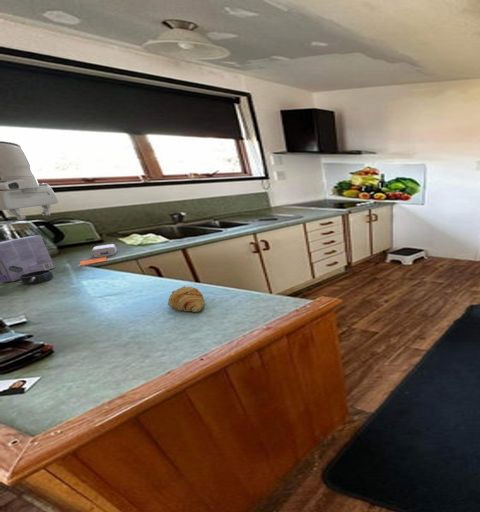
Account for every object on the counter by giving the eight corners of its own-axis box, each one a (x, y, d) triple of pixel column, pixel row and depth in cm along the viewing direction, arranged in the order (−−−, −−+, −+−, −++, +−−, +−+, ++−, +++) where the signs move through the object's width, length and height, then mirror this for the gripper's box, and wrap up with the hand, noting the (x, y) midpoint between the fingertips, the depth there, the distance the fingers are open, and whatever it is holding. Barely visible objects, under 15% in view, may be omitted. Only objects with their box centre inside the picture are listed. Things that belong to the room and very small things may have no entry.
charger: (117, 248, 170) (116, 254, 159) (96, 252, 164) (94, 257, 153) (115, 241, 168) (113, 246, 158) (94, 244, 163) (91, 250, 152)
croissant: (211, 318, 96) (218, 296, 97) (179, 318, 88) (187, 294, 88) (185, 301, 107) (192, 282, 108) (155, 300, 99) (162, 279, 100)
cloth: (79, 266, 141) (79, 265, 141) (81, 261, 148) (80, 261, 148) (106, 261, 147) (106, 260, 147) (106, 257, 154) (106, 256, 154)
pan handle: (29, 284, 114) (27, 281, 114) (32, 279, 119) (31, 276, 118) (33, 283, 115) (32, 280, 114) (36, 278, 120) (35, 276, 119)
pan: (21, 286, 117) (17, 279, 116) (25, 280, 124) (22, 273, 122) (52, 280, 123) (49, 273, 122) (55, 275, 129) (52, 268, 128)
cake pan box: (48, 267, 140) (33, 234, 134) (58, 267, 140) (44, 233, 134) (1, 282, 122) (-19, 245, 116) (12, 282, 122) (-7, 244, 116)
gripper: (40, 182, 120) (52, 213, 124) (-20, 185, 100) (-4, 222, 105) (56, 182, 120) (67, 213, 125) (-1, 185, 101) (15, 221, 105)
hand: (35, 217), depth 115 cm, fingers open, 8 cm apart
